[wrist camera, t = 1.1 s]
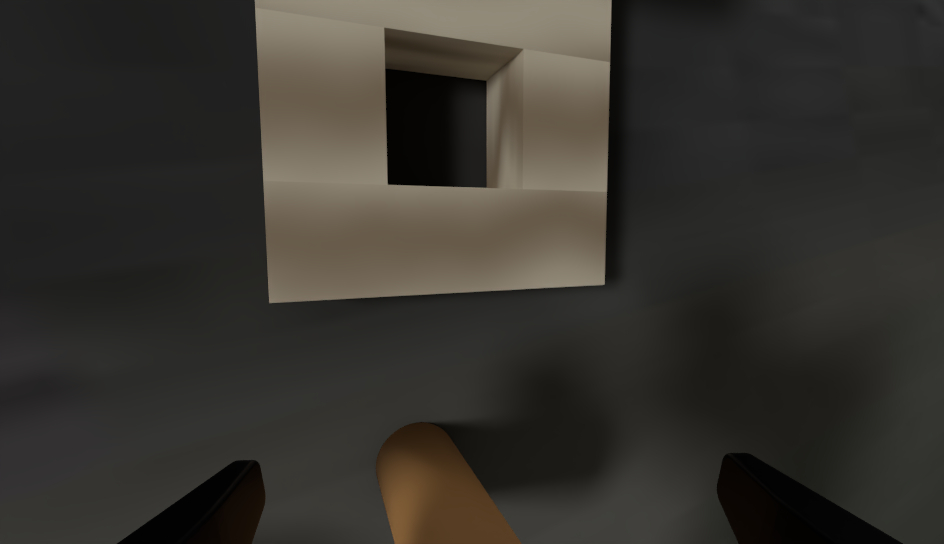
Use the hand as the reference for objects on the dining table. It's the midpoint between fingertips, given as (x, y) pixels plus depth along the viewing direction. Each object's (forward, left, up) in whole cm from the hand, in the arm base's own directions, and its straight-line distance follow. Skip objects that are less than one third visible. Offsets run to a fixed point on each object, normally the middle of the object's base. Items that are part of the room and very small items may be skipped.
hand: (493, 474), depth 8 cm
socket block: (+12, -2, -13) cm, 18 cm away
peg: (-7, -1, -13) cm, 15 cm away
